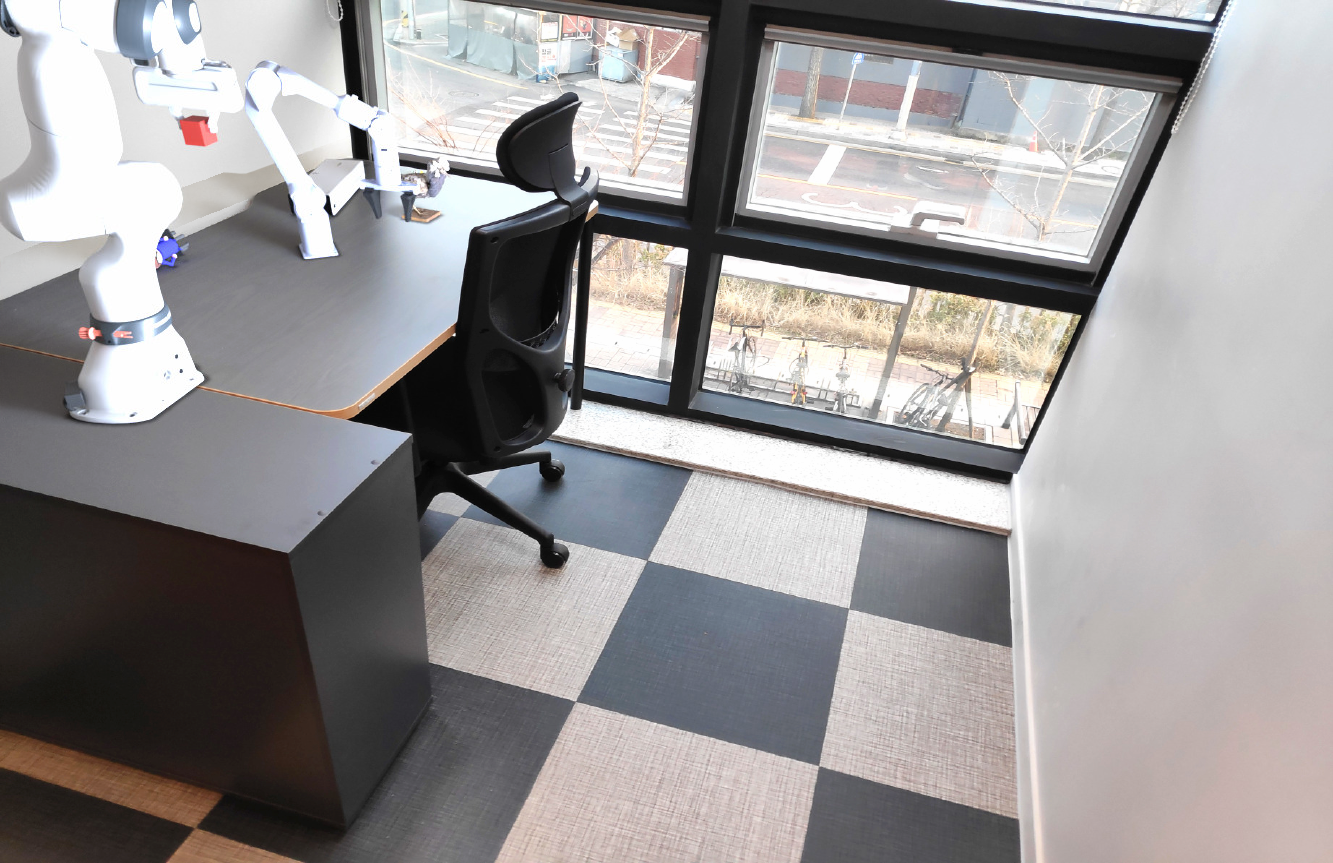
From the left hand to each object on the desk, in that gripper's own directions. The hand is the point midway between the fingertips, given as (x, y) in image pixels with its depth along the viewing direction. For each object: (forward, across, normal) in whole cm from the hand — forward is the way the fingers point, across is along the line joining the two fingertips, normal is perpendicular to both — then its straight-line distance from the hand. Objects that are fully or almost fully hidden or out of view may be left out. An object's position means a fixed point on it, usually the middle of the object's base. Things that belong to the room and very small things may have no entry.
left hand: (198, 130), depth 166 cm
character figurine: (+35, +23, -8) cm, 42 cm away
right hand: (+27, -24, -32) cm, 48 cm away
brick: (+2, 0, 0) cm, 2 cm away
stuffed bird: (+35, -22, -57) cm, 70 cm away
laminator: (+35, +8, -65) cm, 75 cm away
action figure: (+35, -12, -81) cm, 89 cm away
